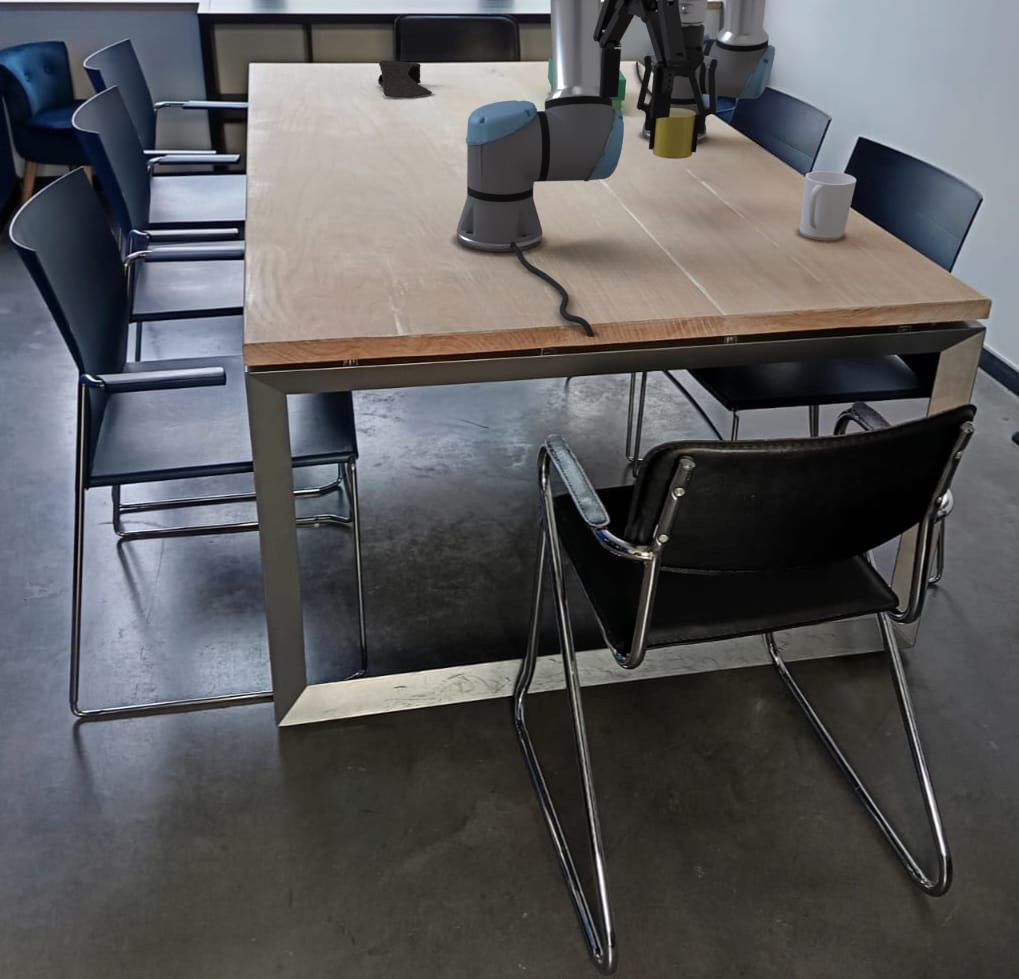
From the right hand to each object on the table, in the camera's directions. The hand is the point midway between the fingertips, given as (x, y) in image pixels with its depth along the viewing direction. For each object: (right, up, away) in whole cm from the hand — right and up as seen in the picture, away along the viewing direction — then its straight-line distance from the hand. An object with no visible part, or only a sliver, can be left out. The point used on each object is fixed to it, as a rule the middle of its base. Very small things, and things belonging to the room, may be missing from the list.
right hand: (672, 149), depth 212 cm
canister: (0, -1, 0) cm, 1 cm away
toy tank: (-12, +39, +84) cm, 93 cm away
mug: (+25, -19, -11) cm, 34 cm away
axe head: (-61, +43, +88) cm, 116 cm away
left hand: (-14, -12, -58) cm, 61 cm away
